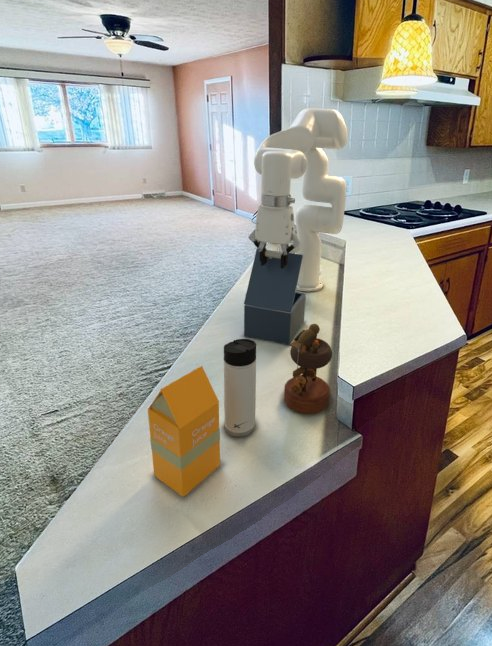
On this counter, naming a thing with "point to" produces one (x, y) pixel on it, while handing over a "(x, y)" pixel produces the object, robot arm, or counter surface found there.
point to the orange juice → (185, 432)
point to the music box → (308, 373)
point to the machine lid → (273, 281)
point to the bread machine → (274, 321)
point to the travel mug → (239, 387)
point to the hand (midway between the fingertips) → (273, 264)
